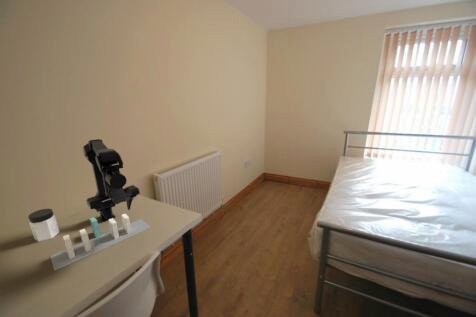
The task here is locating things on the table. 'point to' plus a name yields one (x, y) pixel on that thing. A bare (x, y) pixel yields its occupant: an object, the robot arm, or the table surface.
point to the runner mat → (96, 244)
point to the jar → (43, 224)
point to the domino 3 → (95, 227)
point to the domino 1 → (69, 246)
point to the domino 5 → (126, 223)
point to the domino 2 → (85, 240)
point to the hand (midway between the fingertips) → (117, 213)
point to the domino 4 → (113, 228)
